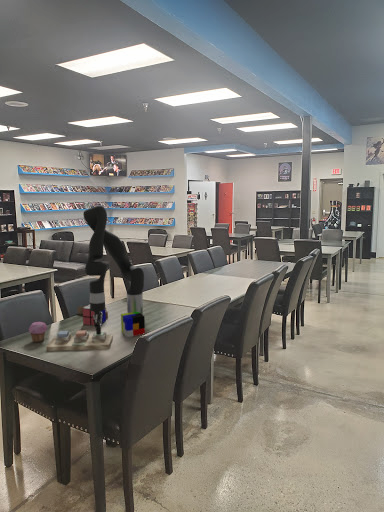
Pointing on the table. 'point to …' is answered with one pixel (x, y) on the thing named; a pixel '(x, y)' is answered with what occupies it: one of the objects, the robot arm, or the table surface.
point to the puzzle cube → (91, 316)
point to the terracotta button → (81, 333)
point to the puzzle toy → (132, 323)
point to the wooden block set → (80, 309)
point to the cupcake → (37, 331)
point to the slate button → (63, 333)
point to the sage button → (99, 334)
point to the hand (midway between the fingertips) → (98, 333)
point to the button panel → (80, 342)
